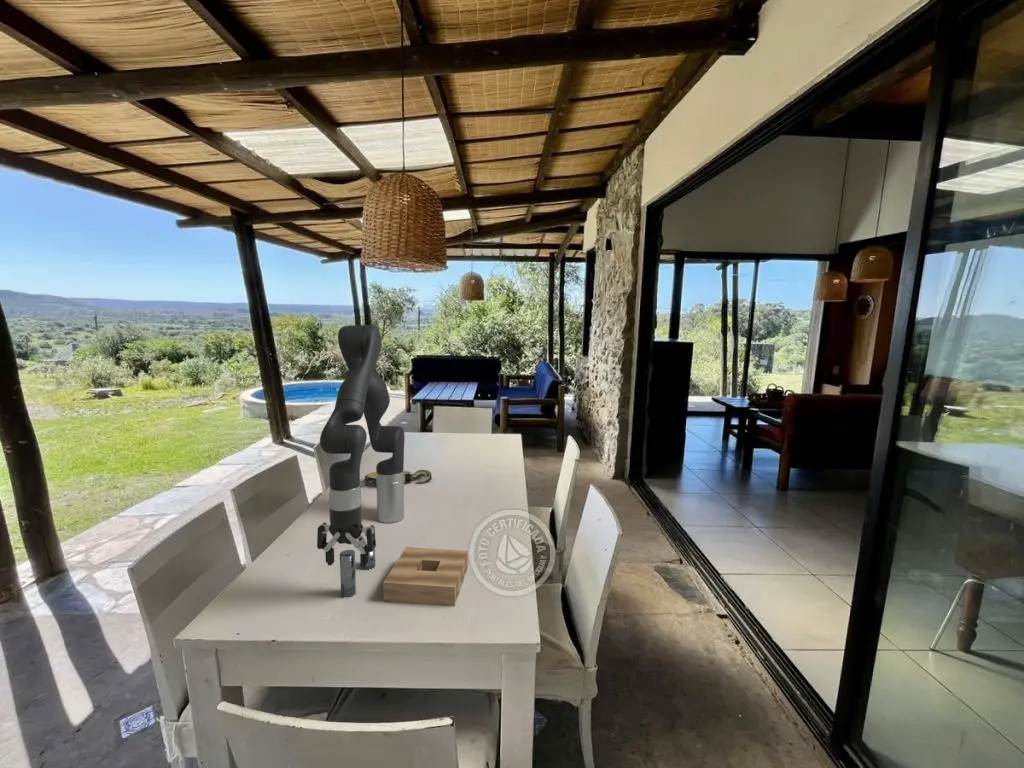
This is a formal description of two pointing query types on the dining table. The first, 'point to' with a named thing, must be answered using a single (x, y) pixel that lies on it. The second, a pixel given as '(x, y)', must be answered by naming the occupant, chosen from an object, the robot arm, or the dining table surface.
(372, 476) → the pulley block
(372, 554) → the short pin
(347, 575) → the long pin
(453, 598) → the block
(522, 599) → the dining table surface
